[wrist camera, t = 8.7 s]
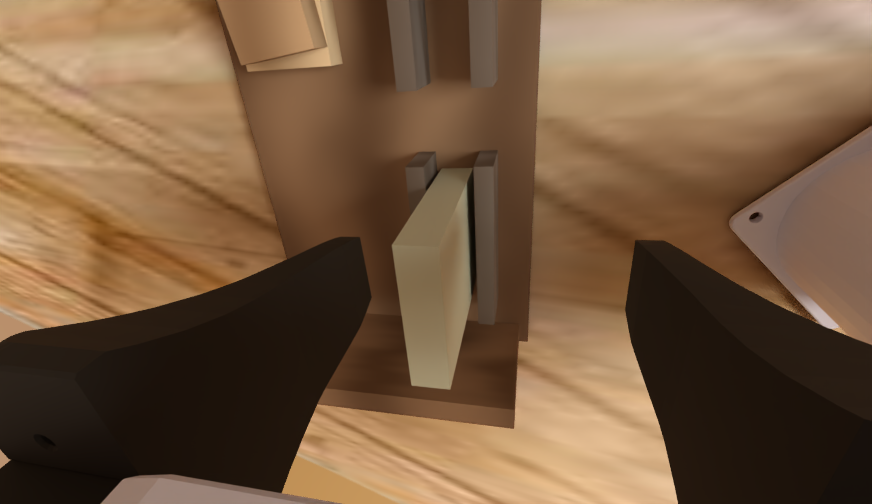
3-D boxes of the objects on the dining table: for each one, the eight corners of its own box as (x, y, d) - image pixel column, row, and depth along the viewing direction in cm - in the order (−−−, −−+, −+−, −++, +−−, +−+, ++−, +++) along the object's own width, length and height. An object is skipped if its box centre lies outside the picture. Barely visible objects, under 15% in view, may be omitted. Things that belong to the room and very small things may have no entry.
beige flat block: (472, 167, 19) (438, 246, 13) (476, 276, 22) (450, 389, 15) (441, 168, 20) (391, 245, 13) (449, 275, 23) (411, 385, 16)
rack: (555, -365, 12) (576, -741, 6) (527, 330, 24) (525, 429, 18) (162, -255, 15) (-81, -437, 9) (312, 314, 27) (249, 395, 21)
